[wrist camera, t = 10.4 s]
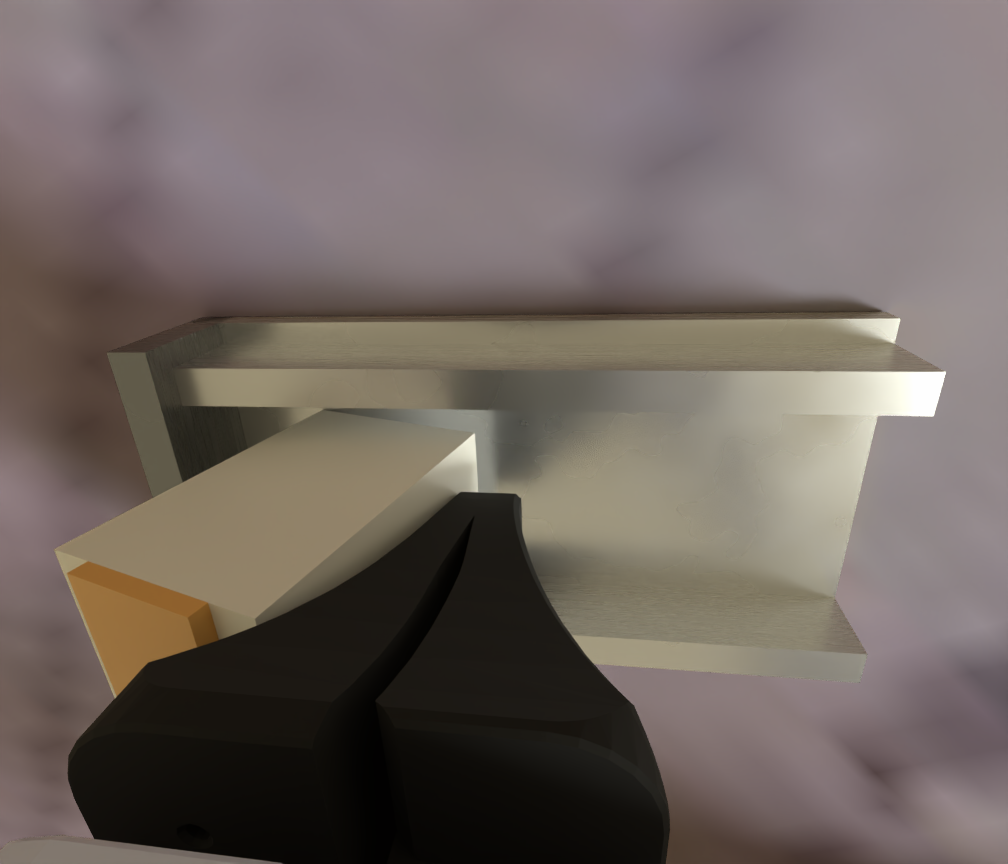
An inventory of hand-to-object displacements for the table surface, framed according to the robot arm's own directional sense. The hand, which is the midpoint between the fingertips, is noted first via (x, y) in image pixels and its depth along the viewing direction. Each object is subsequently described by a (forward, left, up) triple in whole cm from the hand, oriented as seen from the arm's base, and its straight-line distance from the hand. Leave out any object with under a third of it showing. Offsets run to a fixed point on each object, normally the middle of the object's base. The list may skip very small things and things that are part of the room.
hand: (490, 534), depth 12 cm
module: (+2, 0, -2) cm, 3 cm away
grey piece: (0, 0, -3) cm, 3 cm away
